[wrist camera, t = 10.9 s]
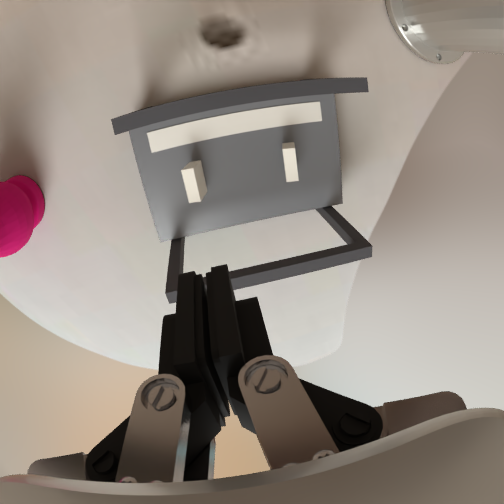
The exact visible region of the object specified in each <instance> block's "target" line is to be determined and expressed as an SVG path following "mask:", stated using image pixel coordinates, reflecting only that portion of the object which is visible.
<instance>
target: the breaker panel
mask: <svg viewBox="0 0 504 504" xmlns="http://www.w3.org/2000/svg"><path fill="white" fill-rule="evenodd" d="M129 134H130V138H131V142H132V146H133V150H134V154H135V158H136V162H137V165H138V169H139V173H140V176H141V180H142V183H143V187H144V191H145V194H146V197H147V201H148V204H149V208H150V211H151V214H152V217H153V221H154V224H155V227H156V230H157V233H158V237H159V240H160V242H164V241H169V240H173V239H177V238H181V237H186V236H190V235H195V234H199V233H203V232H208V231H212V230H217V229H221V228H226V227H231V226H235V225H240V224H244V223H249V222H254V221H258V220H263V219H268V218H273V217H277V216H282V215H287V214H292V213H297V212H302V211H307V210H312V209H317V208H322V207H327V206H332V205H337V204H343V202H342V180H341V163H340V149H339V137H338V125H337V115H336V105H335V96H334V94H322V95H311V96H300V97H291V98H283V99H275V100H268V101H261V102H254V103H248V104H242V105H236V106H230V107H225V108H219V109H214V110H209V111H205V112H200V113H195V114H191V115H186V116H182V117H178V118H174V119H170V120H166V121H162V122H158V123H154V124H151V125H147V126H143V127H140V128H136V129H133V130H130V131H129ZM289 142H294V145H295V153H296V161H297V170H298V179H299V181H292V182H286V174H285V166H284V158H283V151H282V143H289ZM199 160H201V163H202V168H203V173H204V177H205V182H206V186H207V193H206V194H205V196H204V197H203V199H202V201H201V202H194V203H189V201H188V197H187V193H186V189H185V184H184V180H183V176H182V172H181V170H182V169H183V168H184V167H185V166H186V165H187V164H188V163H189V162H193V161H199Z"/></svg>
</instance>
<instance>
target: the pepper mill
mask: <svg viewBox="0 0 504 504" xmlns="http://www.w3.org/2000/svg"><path fill="white" fill-rule="evenodd" d="M44 209H45V203H44V198H43V194H42V192H41V190H40V188H39V186H38V185H37V184H36V183H35V182H34V181H33V180H32V179H30V178H28V177H26V176H22V175H18V176H14V177H12V178H10V179H8V180H7V181H5V182H0V257H6V256H9V255H12V254H14V253H16V252H17V251H19V250H20V249H21V248H22V247H23V246H24V245H25V244H26V243H27V242H28V241H29V239H30V237H31V235H32V232H33V229H34V228H35V227H36V226H37V225H38V224H39V222H40V221H41V219H42V217H43V214H44Z"/></svg>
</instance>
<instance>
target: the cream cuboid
mask: <svg viewBox="0 0 504 504" xmlns="http://www.w3.org/2000/svg"><path fill="white" fill-rule="evenodd" d="M282 151H283V158H284V166H285V174H286V182H292V181H299V179H298V170H297V161H296V153H295V145H294V142H289V143H282Z"/></svg>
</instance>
